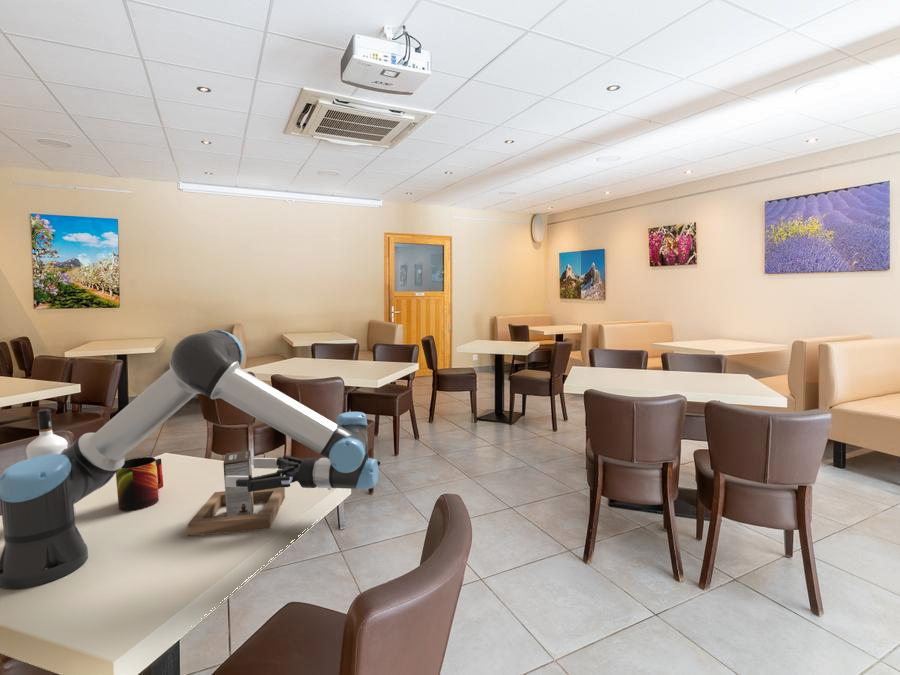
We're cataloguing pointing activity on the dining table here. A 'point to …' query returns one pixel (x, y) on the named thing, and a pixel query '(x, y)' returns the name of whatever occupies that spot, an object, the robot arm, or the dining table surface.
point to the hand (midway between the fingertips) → (240, 471)
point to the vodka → (46, 439)
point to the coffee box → (238, 497)
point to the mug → (139, 483)
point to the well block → (210, 525)
